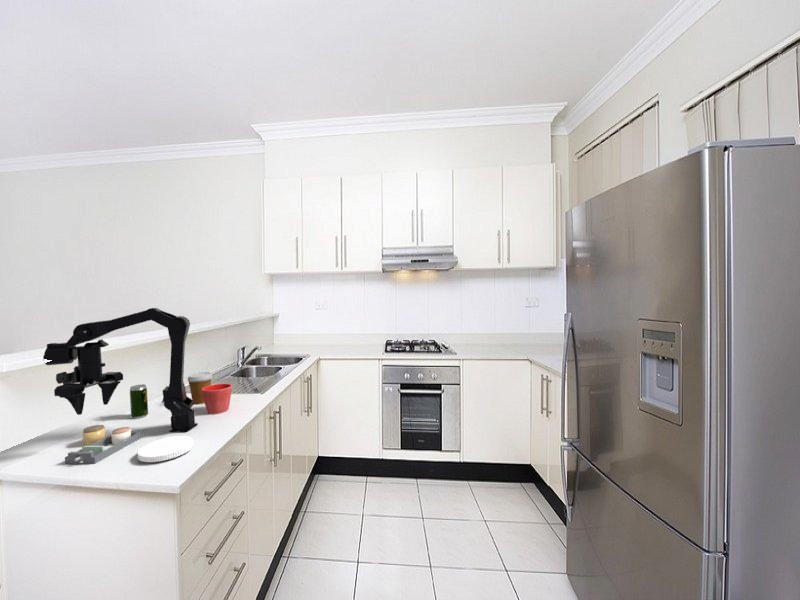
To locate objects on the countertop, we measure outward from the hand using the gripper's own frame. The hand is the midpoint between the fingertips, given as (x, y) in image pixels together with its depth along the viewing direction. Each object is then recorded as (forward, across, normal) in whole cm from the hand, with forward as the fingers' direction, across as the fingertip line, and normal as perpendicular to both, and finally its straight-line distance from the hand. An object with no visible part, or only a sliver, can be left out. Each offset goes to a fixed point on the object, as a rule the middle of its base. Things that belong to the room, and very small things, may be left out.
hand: (93, 409), depth 115 cm
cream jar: (+11, -1, +8) cm, 14 cm away
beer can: (+11, -23, -4) cm, 26 cm away
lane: (+11, +5, +8) cm, 15 cm away
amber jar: (+11, 0, 0) cm, 11 cm away
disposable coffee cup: (+11, -40, +10) cm, 43 cm away
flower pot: (+11, -29, +24) cm, 39 cm away
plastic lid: (+12, +7, +29) cm, 32 cm away
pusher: (+11, +12, +8) cm, 18 cm away
